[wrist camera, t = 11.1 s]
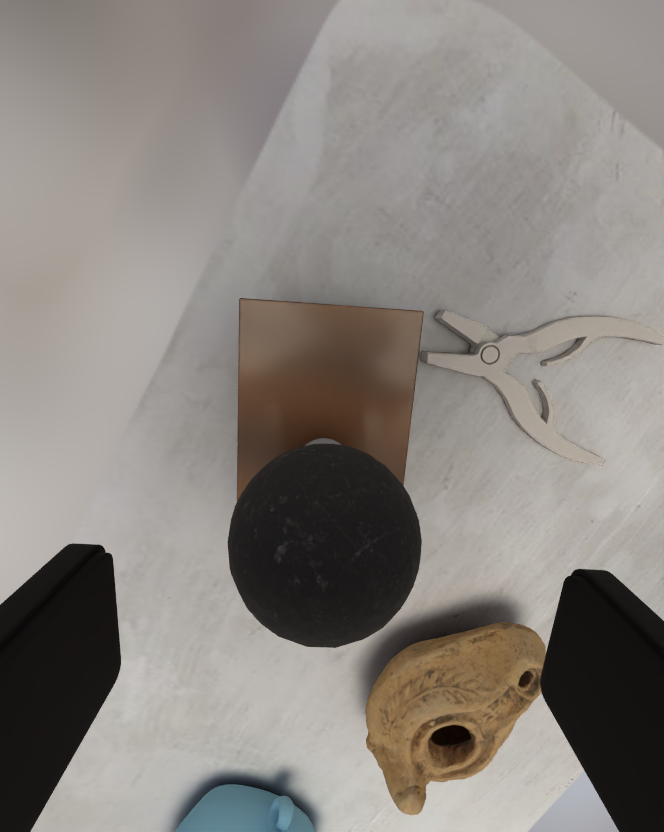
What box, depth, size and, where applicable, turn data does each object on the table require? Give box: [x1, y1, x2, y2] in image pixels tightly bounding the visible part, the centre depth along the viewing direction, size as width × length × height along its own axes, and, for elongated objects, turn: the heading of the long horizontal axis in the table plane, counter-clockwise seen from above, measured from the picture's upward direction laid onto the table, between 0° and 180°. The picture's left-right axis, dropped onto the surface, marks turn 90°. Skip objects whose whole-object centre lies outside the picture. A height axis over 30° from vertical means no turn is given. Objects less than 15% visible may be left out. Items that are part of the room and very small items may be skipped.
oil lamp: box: [366, 622, 546, 815], centre depth 29 cm, size 11×15×8 cm
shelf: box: [237, 298, 424, 501], centre depth 23 cm, size 14×8×9 cm, turn 176°
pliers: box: [421, 310, 664, 466], centre depth 26 cm, size 10×2×15 cm
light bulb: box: [228, 438, 422, 648], centre depth 14 cm, size 6×6×10 cm
